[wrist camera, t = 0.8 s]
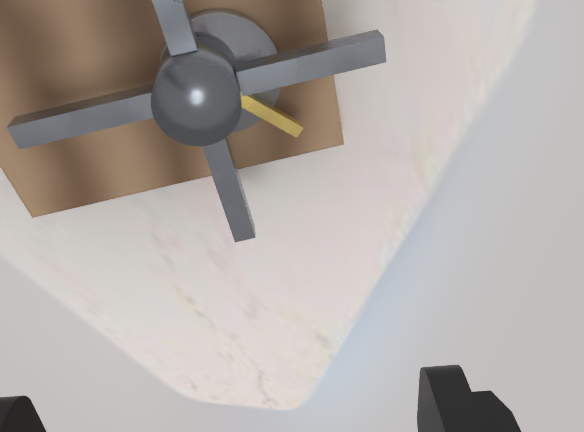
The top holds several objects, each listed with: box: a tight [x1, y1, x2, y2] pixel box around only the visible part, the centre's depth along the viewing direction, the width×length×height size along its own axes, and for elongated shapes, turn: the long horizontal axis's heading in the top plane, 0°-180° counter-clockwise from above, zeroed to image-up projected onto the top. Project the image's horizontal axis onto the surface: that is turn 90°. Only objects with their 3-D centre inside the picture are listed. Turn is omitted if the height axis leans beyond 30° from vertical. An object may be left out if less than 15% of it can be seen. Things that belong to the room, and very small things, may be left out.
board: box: [0, 0, 344, 218], centre depth 29 cm, size 20×14×2 cm
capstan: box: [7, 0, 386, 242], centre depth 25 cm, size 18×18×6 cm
